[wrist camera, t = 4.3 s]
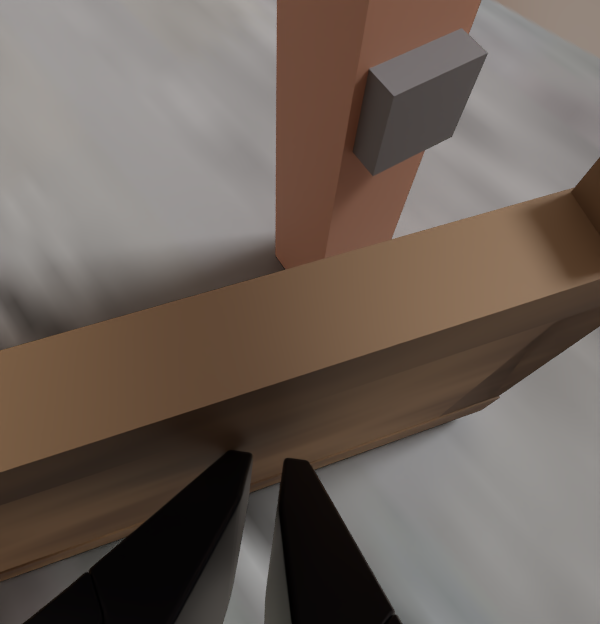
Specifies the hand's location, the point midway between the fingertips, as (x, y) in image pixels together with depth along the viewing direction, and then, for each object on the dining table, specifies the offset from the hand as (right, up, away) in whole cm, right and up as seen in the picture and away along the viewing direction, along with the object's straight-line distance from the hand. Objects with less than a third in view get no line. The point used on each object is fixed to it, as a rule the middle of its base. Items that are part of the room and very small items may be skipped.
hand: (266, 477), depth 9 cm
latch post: (+1, +4, +9) cm, 10 cm away
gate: (-2, -2, +6) cm, 6 cm away
